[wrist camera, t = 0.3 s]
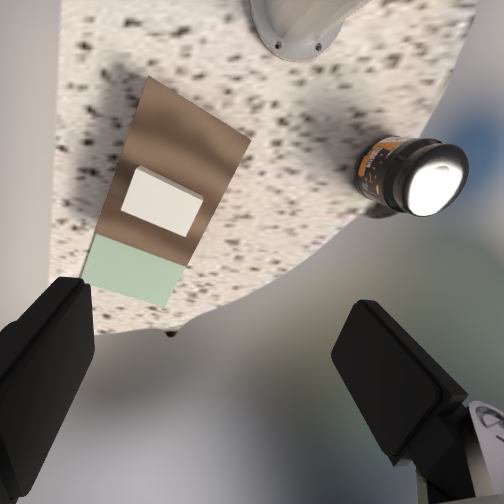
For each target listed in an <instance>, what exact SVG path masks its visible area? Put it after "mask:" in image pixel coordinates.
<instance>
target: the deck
mask: <svg viewBox="0 0 504 504" xmlns="http://www.w3.org/2000/svg"><path fill="white" fill-rule="evenodd" d="M250 142H251V140H250V139H249V138H247V137H246V136H244V135H242V134H241V133H239V132H238V131H236V130H234V129H233V128H231V127H230V126H228V125H227V124H225V123H223V122H222V121H220V120H219V119H217V118H215V117H214V116H212V115H211V114H209V113H207V112H206V111H204V110H203V109H201V108H199V107H198V106H196V105H195V104H193V103H192V102H190V101H188V100H187V99H185V98H184V97H182V96H180V95H179V94H177V93H176V92H174V91H172V90H171V89H169V88H168V87H166V86H164V85H163V84H161V83H160V82H158V81H156V80H155V79H153V78H152V77H150V76H148V78H147V81H146V84H145V87H144V90H143V93H142V96H141V99H140V102H139V105H138V108H137V110H136V113H135V116H134V119H133V122H132V125H131V128H130V131H129V134H128V137H127V140H126V143H125V145H124V148H123V151H122V154H121V157H120V160H119V163H118V166H117V169H116V172H115V175H114V178H113V180H112V183H111V186H110V189H109V192H108V195H107V198H106V201H105V204H104V207H103V210H102V212H101V215H100V218H99V221H98V224H97V227H96V230H95V233H96V234H98V235H101V236H104V237H106V238H109V239H112V240H114V241H117V242H120V243H123V244H125V245H128V246H131V247H133V248H136V249H139V250H141V251H144V252H147V253H149V254H152V255H155V256H158V257H160V258H163V259H166V260H168V261H171V262H174V263H176V264H179V265H182V266H184V267H186V266H187V264H188V263H189V261H190V259H191V257H192V255H193V253H194V251H195V249H196V247H197V245H198V243H199V241H200V239H201V237H202V235H203V233H204V231H205V229H206V228H207V226H208V224H209V222H210V220H211V218H212V216H213V214H214V212H215V210H216V208H217V206H218V204H219V202H220V200H221V198H222V196H223V194H224V192H225V191H226V189H227V187H228V185H229V183H230V181H231V179H232V177H233V175H234V173H235V171H236V169H237V167H238V165H239V163H240V161H241V159H242V157H243V156H244V154H245V152H246V150H247V148H248V146H249V144H250ZM139 166H143V167H145V168H147V169H149V170H151V171H153V172H155V173H157V174H159V175H161V176H163V177H165V178H167V179H169V180H171V181H173V182H175V183H177V184H179V185H181V186H183V187H185V188H187V189H189V190H191V191H193V192H196V193H198V194H200V195H202V196H203V202H202V204H201V206H200V208H199V210H198V213H197V215H196V217H195V219H194V221H193V223H192V225H191V227H190V229H189V231H188V233H187V235H186V237H184V236H182V235H179V234H177V233H174V232H172V231H170V230H167V229H165V228H162V227H160V226H158V225H155V224H153V223H150V222H148V221H146V220H143V219H141V218H138V217H136V216H134V215H131V214H129V213H126V212H124V211H122V210H121V208H122V205H123V202H124V200H125V197H126V194H127V192H128V189H129V186H130V184H131V181H132V178H133V175H134V173H135V170H136V168H138V167H139Z"/></svg>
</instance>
